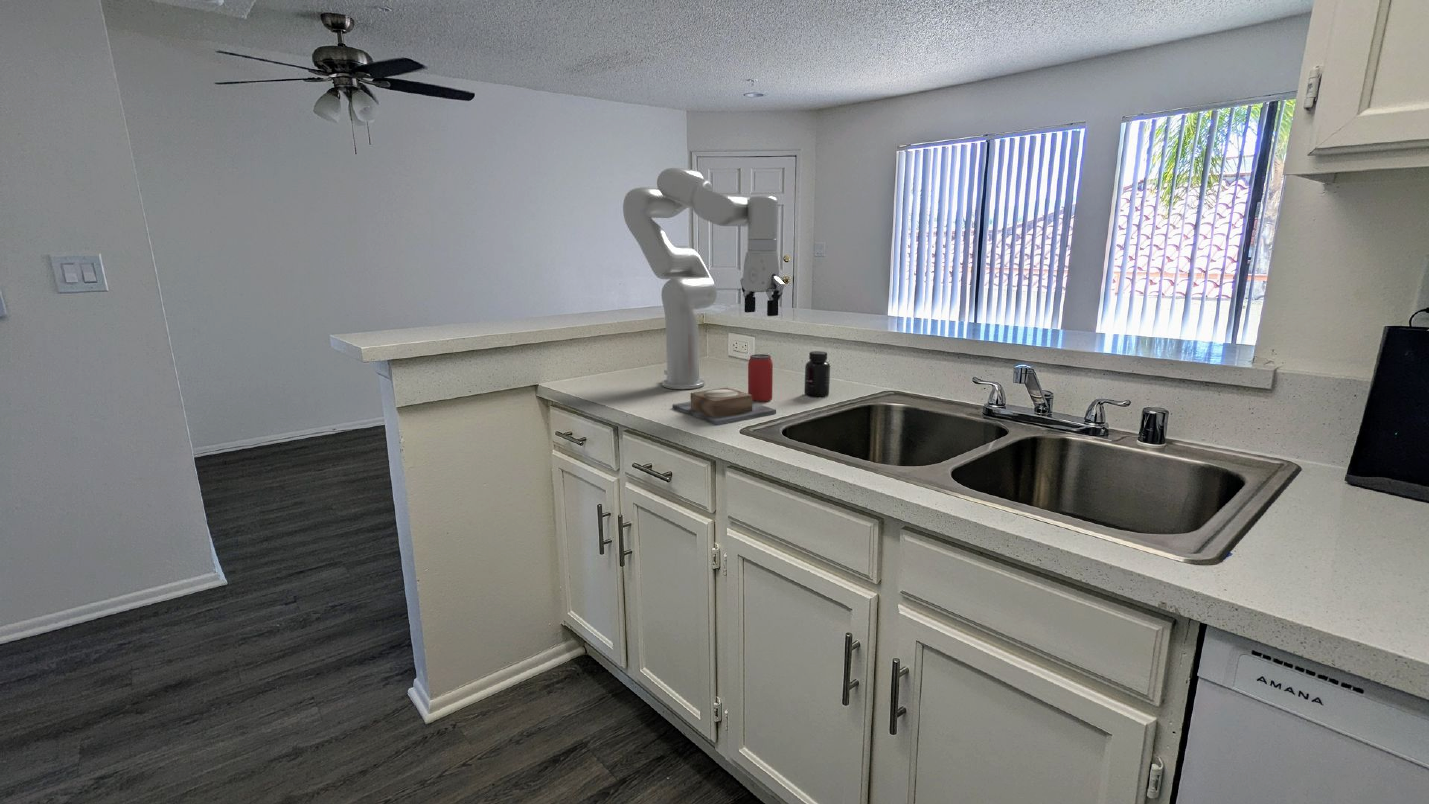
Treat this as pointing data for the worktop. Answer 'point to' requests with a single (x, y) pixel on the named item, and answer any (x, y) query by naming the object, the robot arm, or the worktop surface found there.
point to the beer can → (760, 377)
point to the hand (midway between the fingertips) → (761, 313)
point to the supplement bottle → (817, 375)
